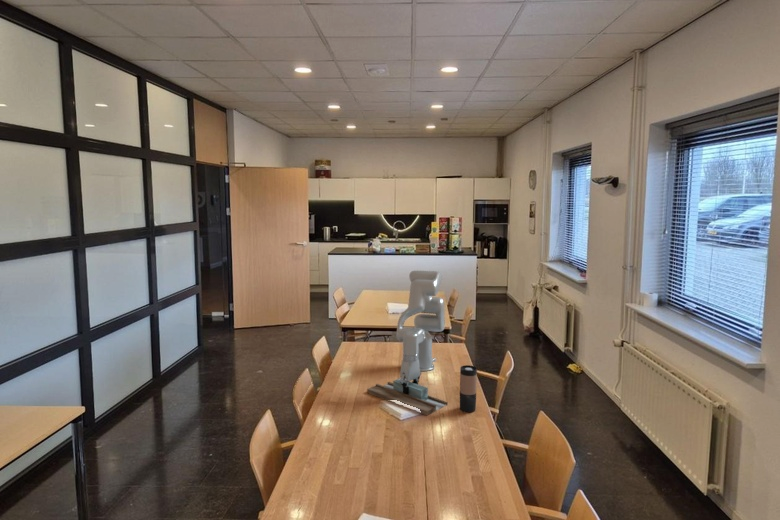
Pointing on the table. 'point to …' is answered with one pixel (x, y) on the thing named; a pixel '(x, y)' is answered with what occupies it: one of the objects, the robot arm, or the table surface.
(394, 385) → the teal rectangular block
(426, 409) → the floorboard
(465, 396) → the travel mug
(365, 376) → the table surface
